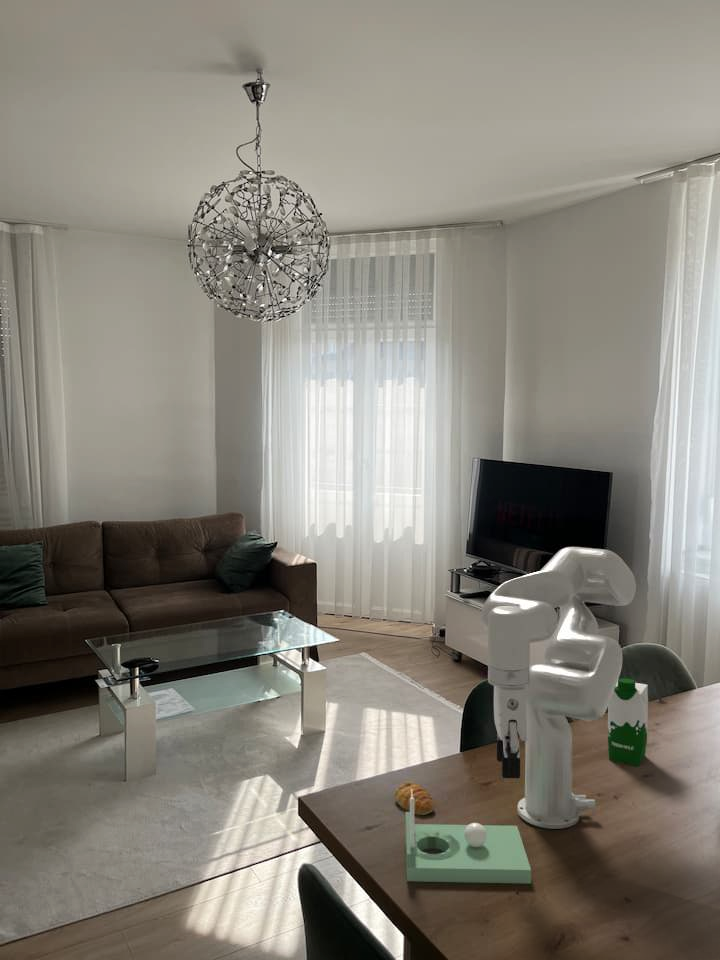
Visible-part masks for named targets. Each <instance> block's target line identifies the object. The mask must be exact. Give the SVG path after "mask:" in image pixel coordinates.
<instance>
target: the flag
mask: <svg viewBox="0 0 720 960" xmlns="http://www.w3.org/2000/svg"><path fill="white" fill-rule="evenodd" d="M409 812H410V847H411V848H414V824H415V813H414V798H413V791H412V789H411V798H410V811H409Z"/></svg>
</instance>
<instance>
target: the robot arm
mask: <svg viewBox="0 0 720 960" xmlns="http://www.w3.org/2000/svg"><path fill="white" fill-rule="evenodd" d="M636 590H637V582H636V578H635V576H634V573H633V572H632V570H631V568H630V567H629V566H628V565H627V564H626V562H625V561H624V560H623V558H622V557H620V556H619V555H618V554H617V553H615V552H614V551H612V550H609V549H605V548H604V549H602V548H592V547H581V546H567V547H564V548H561V549H559V550H558V551H557V552H556V553H555V554H554V555H553V556H552V557H551V559H549V560H548V562H546V564H545V565H544V566H543V567H542V568H541V569H540V570H539V571H536V572H532V573H529V574H525V575H522V576H519V577H516V578H513V579H510V580H507V581H504V582H503V583H502V584H500V585H499V586H498V587H496V589H494V590H493V591H492V592H491V593H490V595H489V596H488V597H487V599H486V600H485V602H484V604H483V606H482V610H481V621H482V622H481V623H482V625H483V627H484V629H485V630H487V632H488V635H487V636H488V637H487V641H488V648H487V651H488V652H487V653H488V658H487V659H488V661H487V668H488V669H487V682H488V684H490V685H491V686H493V720H494V725H495V729H496V731H497V735H496V736H497V740H496V760H497V762H498V763H499V762H501V776H502V778H503V779H520V778H521V752H520V750H521V749H520V741H521V742H523V743H524V744H525V745H524V746H525V748H524V749H525V753H524V754H525V755H524V759H525V760H524V761H525V763H524V764H525V765H524V766H525V767H524V770H525V771H524V774H525V775H524V797H522V798H521V799H519V801H518V803H517V808H516V809H517V810H516V811H517V814H518V816H519V817H520V819H521V818H522V820H523V821H525V822H526V823H529V824H531V825H533V826H535V827H539V828H542V829H543V828H544V829H548V830H549V829H550V830H556V829H557V830H558V829H559V830H560V829H566V828H570V827H572V826H574V825H576V824H577V823H578V821H580V811H581V810H585V809H586V810H596V800H595V799H594V798H591V799H588V798H587V796H586V794H575V793H574V792H572V791H573V732H572V728H571V726H570V724H569V722H568V719H567V718H572V719H577V720H582V721H586V722H597V721H600V720H601V719H602V718H603V717H604V715H605V714H606V712H607V711H608V705H609V702H610V700H611V697H612V694H613V692H614V689H615V686H616V684H617V681H618V679H619V678H620V676H621V672H622V668H623V650H622V647H621V645H620V644H619V643H618V641H617V640H616V639H614V638H612V637H609V636H606V635H605V636H604V635H599V634H598V631H599V624H598V621H597V619H596V617H595V615H594V614H593V613H592V611H591V610H590V609H589V608H588V606H587V605H586V604H585V603H593V604H601V605H608V606H617V607H619V606H620V607H622V606H627V605H629V604H631V603H632V601H633V600H634V598H635V596H636ZM556 608H559V612H560V615H559V616H560V617H559V616H558V613H557V610H556ZM558 617H559V618H558ZM558 619H559V620H558ZM548 639H549V641H548V643H547V644H546V648H545V650H544V655H543V657H544V662H545V663H536V664H532V665H530V662H531V661H530V658H531V657H530V655H531V653H530V651H531V649H530V648H531V646H530V645H531V644H533V643H537V642H538V643H539V642H543V641H546V640H548ZM566 717H567V718H566Z"/></svg>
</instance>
